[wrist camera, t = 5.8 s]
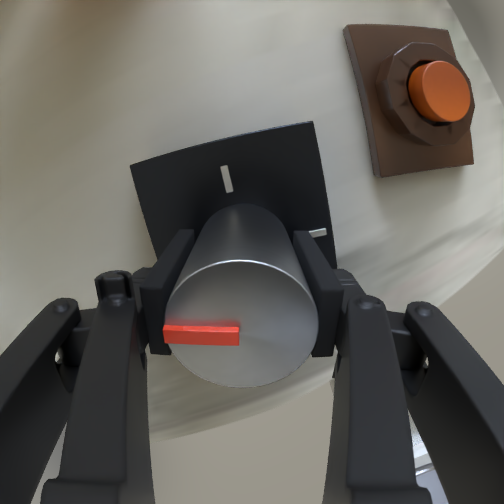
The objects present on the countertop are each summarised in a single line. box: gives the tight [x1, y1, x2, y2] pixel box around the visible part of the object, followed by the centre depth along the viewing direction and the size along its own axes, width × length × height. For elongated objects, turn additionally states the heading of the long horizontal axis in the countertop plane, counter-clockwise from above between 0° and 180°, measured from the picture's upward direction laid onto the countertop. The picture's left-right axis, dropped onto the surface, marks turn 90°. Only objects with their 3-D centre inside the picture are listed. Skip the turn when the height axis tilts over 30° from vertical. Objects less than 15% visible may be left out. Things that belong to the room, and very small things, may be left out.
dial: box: [163, 204, 319, 388], centre depth 13 cm, size 5×5×8 cm
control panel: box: [130, 121, 337, 269], centre depth 19 cm, size 12×10×3 cm
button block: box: [343, 24, 475, 178], centre depth 15 cm, size 10×8×3 cm
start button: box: [408, 61, 470, 122], centre depth 14 cm, size 4×4×2 cm
